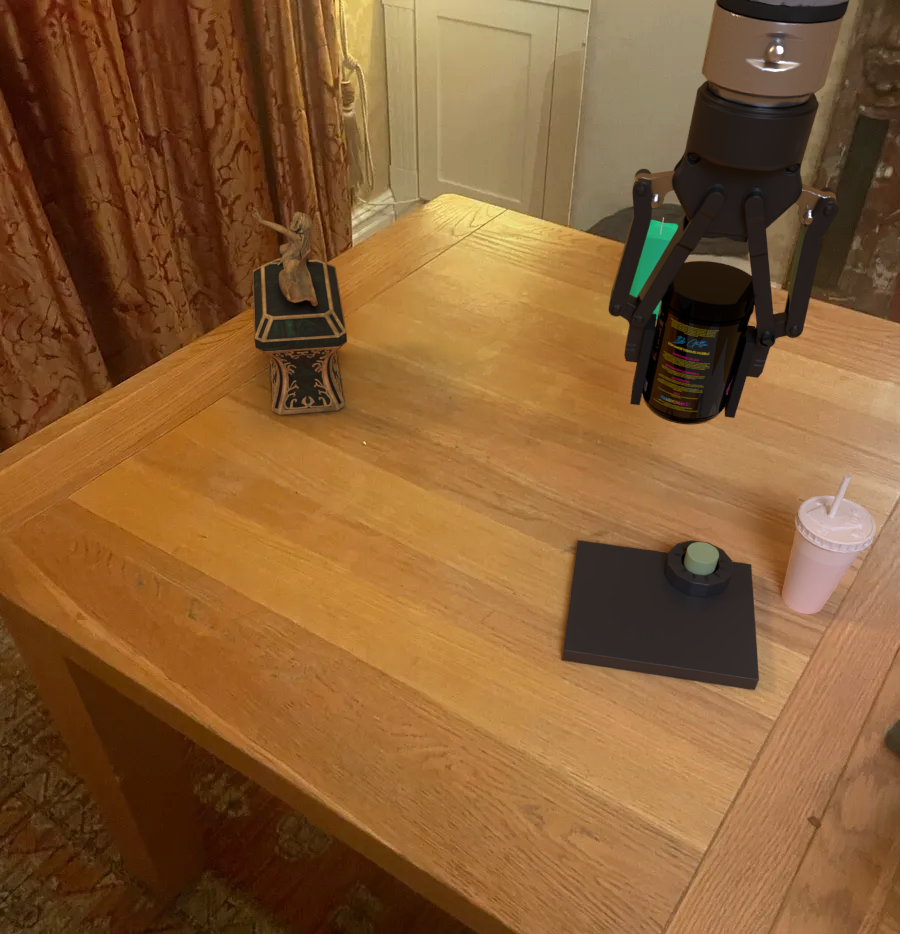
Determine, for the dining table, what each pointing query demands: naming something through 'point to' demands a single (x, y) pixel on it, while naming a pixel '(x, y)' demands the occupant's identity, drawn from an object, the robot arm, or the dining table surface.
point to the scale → (662, 615)
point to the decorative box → (299, 324)
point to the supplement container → (698, 342)
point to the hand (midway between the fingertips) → (682, 401)
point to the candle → (652, 254)
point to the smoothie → (824, 548)
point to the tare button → (701, 558)
